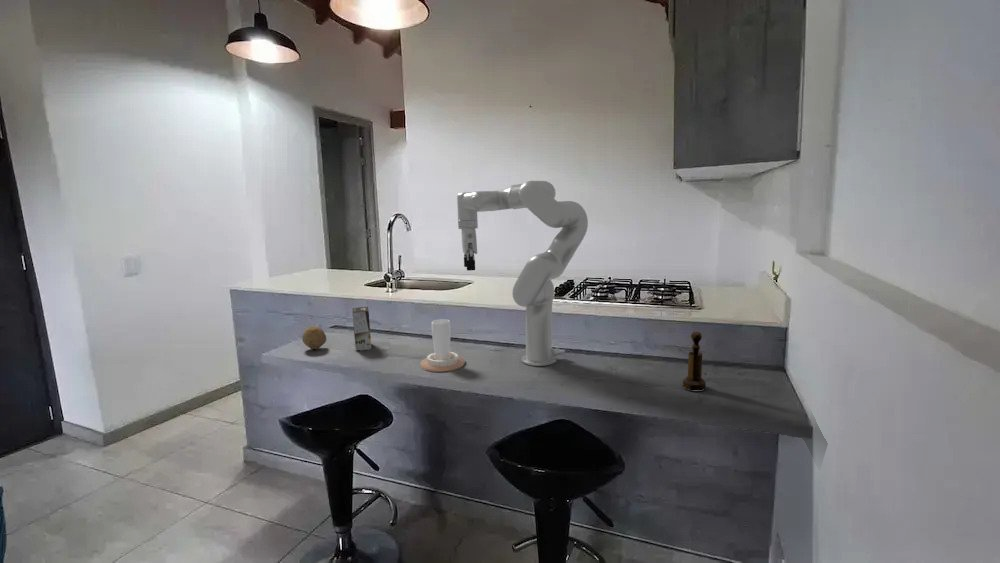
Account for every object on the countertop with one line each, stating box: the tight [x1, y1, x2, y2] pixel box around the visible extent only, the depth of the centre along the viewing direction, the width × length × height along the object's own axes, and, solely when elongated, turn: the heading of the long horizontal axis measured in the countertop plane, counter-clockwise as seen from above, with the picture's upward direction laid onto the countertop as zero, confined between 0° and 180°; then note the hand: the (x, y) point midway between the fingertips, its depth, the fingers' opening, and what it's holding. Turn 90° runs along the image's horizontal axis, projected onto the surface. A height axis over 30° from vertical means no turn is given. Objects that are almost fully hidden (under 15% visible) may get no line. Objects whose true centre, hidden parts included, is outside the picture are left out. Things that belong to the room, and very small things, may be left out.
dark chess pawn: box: [682, 330, 707, 390], centre depth 148 cm, size 7×6×18 cm
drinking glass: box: [431, 318, 452, 361], centre depth 175 cm, size 7×7×15 cm
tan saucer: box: [420, 351, 466, 373], centre depth 176 cm, size 16×16×3 cm
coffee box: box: [352, 306, 372, 351], centre depth 198 cm, size 9×6×16 cm
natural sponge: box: [302, 325, 327, 350], centre depth 197 cm, size 9×9×10 cm
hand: (469, 268), depth 189 cm, fingers open, 9 cm apart
